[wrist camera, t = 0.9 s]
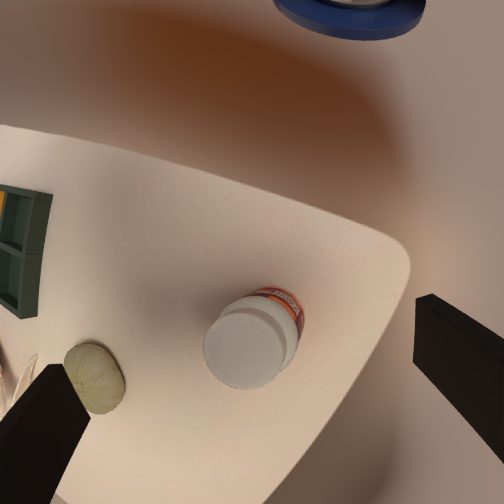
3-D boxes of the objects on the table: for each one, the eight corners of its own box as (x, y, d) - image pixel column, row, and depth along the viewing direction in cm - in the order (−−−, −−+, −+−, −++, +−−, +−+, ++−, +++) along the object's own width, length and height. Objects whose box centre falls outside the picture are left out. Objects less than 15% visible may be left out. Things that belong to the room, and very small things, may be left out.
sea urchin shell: (64, 392, 33) (37, 370, 28) (93, 351, 39) (72, 323, 33) (114, 430, 31) (90, 416, 26) (144, 383, 37) (128, 360, 31)
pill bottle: (311, 293, 29) (303, 316, 17) (296, 354, 29) (280, 407, 18) (247, 279, 30) (203, 292, 19) (236, 339, 30) (189, 381, 19)
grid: (0, 184, 40) (-14, 181, 37) (53, 194, 36) (35, 191, 33) (-13, 281, 41) (-26, 282, 38) (37, 316, 37) (20, 319, 34)
